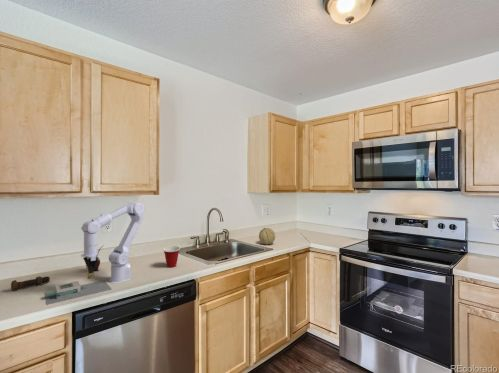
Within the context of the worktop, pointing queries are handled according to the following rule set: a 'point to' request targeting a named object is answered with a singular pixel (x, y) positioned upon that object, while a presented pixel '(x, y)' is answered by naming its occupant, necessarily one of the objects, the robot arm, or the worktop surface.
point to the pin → (89, 274)
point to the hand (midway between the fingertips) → (90, 271)
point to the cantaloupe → (267, 236)
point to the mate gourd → (97, 261)
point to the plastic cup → (171, 255)
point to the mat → (85, 290)
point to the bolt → (29, 283)
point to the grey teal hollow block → (66, 290)
